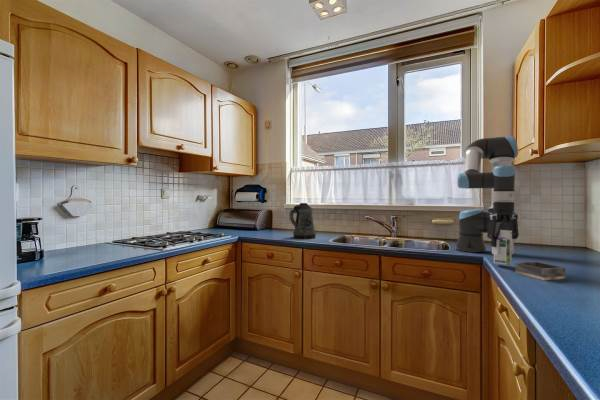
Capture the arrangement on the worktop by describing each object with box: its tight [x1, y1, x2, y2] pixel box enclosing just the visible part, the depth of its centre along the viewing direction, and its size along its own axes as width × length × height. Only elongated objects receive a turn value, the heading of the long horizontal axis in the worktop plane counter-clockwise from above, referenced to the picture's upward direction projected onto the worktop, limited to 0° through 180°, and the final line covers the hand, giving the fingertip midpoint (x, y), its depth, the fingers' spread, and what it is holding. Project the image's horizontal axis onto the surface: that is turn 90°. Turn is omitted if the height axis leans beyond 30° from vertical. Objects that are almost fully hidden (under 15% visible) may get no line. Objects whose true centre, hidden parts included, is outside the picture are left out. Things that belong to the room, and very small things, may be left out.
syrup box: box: [493, 230, 513, 266], centre depth 125 cm, size 6×6×14 cm
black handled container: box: [288, 202, 317, 240], centre depth 207 cm, size 16×19×25 cm
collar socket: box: [514, 261, 566, 281], centre depth 110 cm, size 11×11×4 cm
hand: (502, 253), depth 125 cm, fingers closed on syrup box, 7 cm apart
